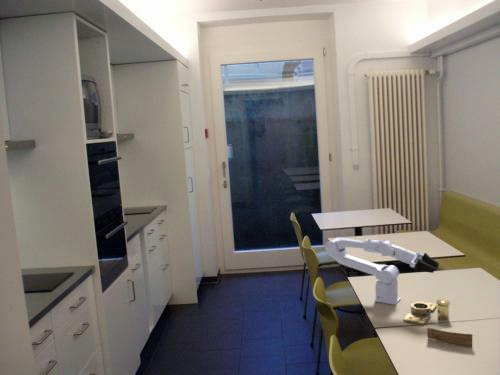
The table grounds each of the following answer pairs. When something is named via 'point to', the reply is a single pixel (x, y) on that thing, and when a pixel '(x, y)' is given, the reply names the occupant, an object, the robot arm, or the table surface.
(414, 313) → the hinge
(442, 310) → the hinge pin
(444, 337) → the wood plank
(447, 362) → the table surface
